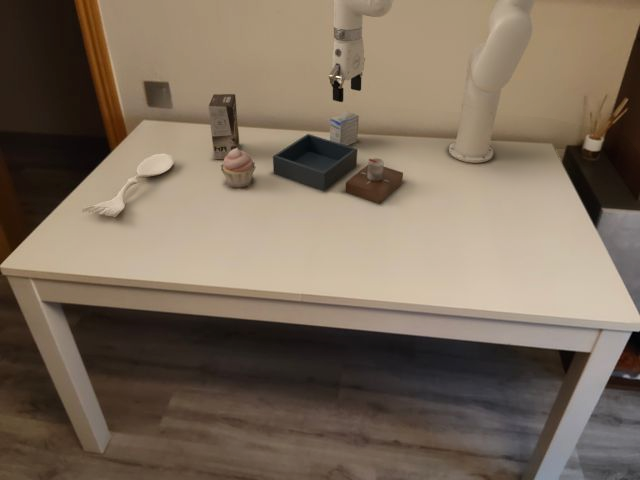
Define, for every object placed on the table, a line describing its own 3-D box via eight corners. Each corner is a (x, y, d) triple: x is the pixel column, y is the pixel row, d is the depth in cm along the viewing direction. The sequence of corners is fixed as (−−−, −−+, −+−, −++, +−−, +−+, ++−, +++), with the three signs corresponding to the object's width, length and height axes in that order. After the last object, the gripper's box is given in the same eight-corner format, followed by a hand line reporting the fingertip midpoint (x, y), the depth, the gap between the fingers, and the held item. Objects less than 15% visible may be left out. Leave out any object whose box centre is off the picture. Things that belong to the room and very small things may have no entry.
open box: (307, 150, 161) (307, 133, 158) (356, 166, 154) (357, 148, 150) (273, 173, 150) (272, 156, 146) (324, 191, 142) (324, 173, 139)
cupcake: (262, 186, 144) (260, 152, 138) (228, 194, 141) (224, 159, 135) (250, 170, 151) (247, 137, 145) (217, 177, 148) (213, 144, 142)
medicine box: (347, 137, 168) (348, 110, 163) (357, 142, 166) (359, 115, 160) (329, 145, 164) (329, 118, 158) (339, 150, 161) (340, 123, 156)
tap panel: (369, 171, 151) (370, 161, 149) (402, 182, 146) (403, 172, 145) (345, 192, 142) (345, 181, 140) (378, 204, 138) (379, 193, 136)
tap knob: (385, 176, 143) (386, 159, 140) (378, 182, 140) (379, 166, 137) (371, 171, 145) (372, 155, 142) (364, 178, 142) (365, 161, 139)
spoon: (83, 220, 131) (80, 208, 129) (151, 159, 156) (149, 148, 154) (116, 226, 129) (113, 214, 127) (180, 163, 154) (178, 152, 152)
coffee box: (236, 160, 156) (231, 106, 146) (213, 159, 156) (207, 106, 146) (240, 145, 163) (236, 93, 153) (219, 145, 163) (213, 93, 154)
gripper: (342, 44, 138) (342, 108, 148) (376, 27, 149) (373, 88, 159) (318, 39, 141) (319, 102, 151) (352, 23, 153) (351, 83, 163)
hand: (347, 95), depth 155 cm, fingers open, 9 cm apart
